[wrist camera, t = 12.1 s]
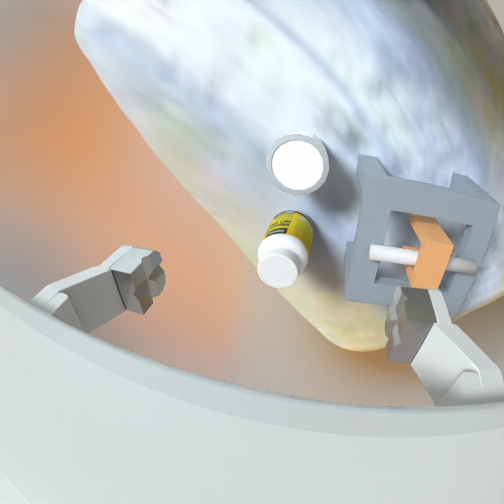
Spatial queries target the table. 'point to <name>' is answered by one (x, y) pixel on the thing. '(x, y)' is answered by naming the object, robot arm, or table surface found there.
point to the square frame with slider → (373, 250)
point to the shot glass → (297, 163)
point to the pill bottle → (285, 248)
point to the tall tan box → (428, 253)
